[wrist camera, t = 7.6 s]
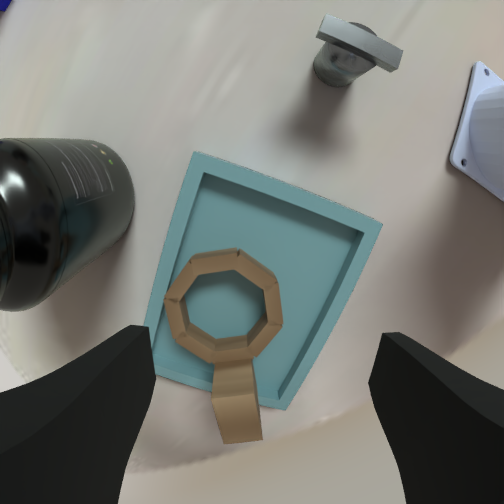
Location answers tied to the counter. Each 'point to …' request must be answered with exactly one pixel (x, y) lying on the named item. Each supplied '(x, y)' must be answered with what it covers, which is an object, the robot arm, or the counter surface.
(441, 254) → the counter surface
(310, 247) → the tray
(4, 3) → the blue curved cradle
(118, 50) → the counter surface
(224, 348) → the ring
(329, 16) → the grey cylinder and bar
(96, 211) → the supplement bottle
